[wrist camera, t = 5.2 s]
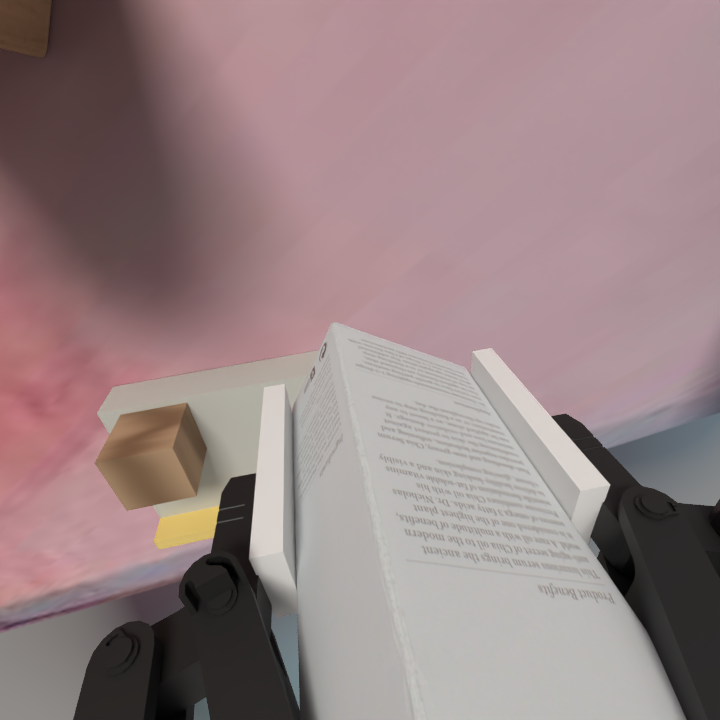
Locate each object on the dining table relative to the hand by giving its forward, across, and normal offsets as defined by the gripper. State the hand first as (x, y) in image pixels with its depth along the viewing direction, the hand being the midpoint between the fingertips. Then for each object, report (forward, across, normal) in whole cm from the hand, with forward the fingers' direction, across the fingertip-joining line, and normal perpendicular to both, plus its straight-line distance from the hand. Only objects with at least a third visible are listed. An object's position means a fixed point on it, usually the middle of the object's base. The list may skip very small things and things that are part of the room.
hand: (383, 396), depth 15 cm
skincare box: (+1, 0, 0) cm, 1 cm away
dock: (+18, +10, +15) cm, 25 cm away
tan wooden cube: (+14, +16, +11) cm, 24 cm away
